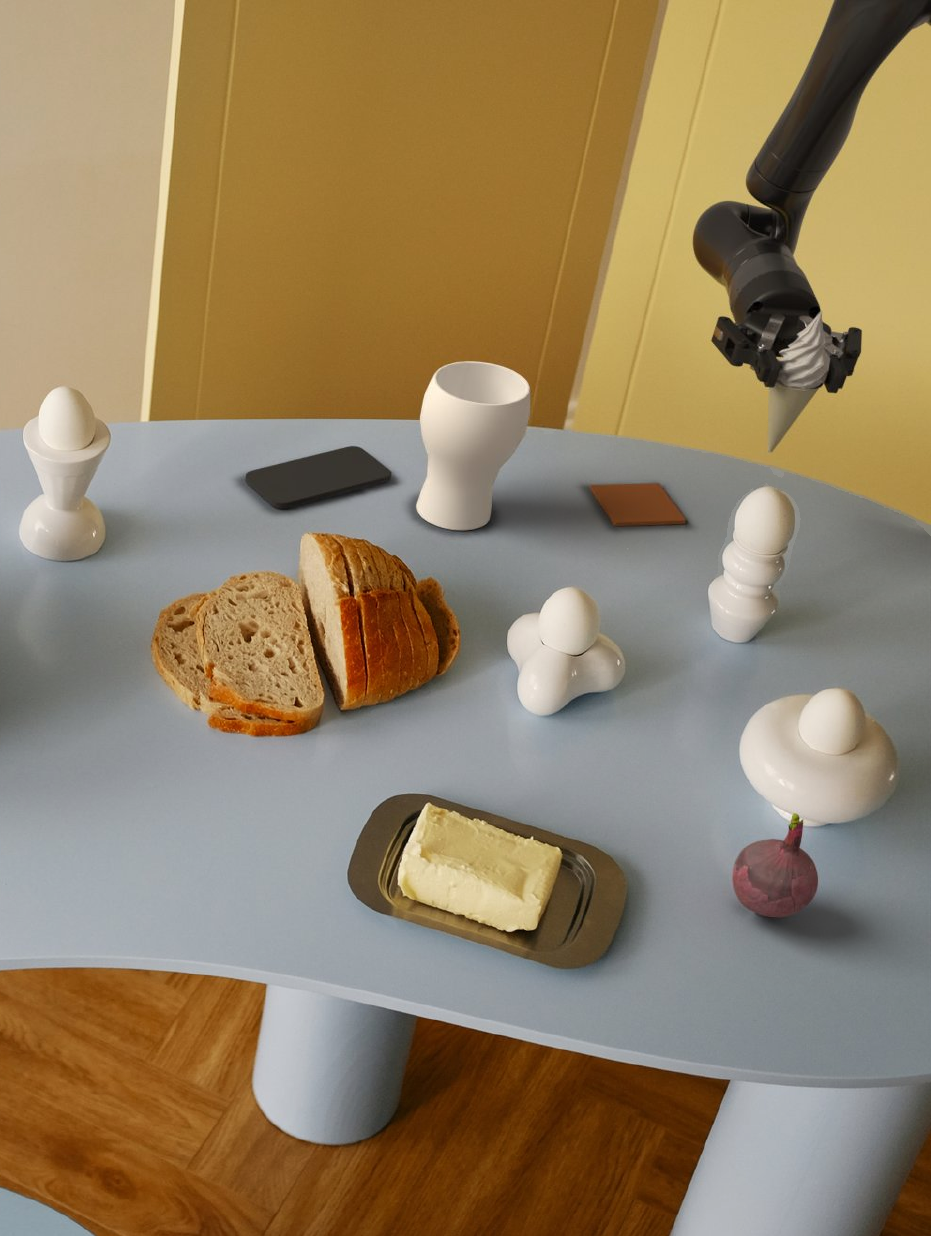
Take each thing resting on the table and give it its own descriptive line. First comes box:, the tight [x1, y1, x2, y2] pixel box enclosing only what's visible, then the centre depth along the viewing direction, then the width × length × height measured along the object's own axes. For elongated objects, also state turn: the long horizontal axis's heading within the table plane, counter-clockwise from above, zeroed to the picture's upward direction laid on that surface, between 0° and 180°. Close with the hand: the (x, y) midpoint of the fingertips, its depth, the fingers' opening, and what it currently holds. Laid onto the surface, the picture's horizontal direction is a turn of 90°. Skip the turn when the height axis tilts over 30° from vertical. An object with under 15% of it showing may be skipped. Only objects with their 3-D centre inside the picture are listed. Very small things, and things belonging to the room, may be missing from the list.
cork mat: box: [589, 482, 687, 527], centre depth 176 cm, size 8×8×1 cm
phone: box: [245, 445, 392, 509], centre depth 179 cm, size 7×1×15 cm
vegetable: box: [731, 812, 819, 918], centre depth 126 cm, size 6×6×10 cm
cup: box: [415, 360, 531, 531], centre depth 170 cm, size 11×11×15 cm
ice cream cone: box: [766, 310, 830, 453], centre depth 159 cm, size 5×5×15 cm
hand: (804, 381), depth 156 cm, fingers closed on ice cream cone, 5 cm apart
